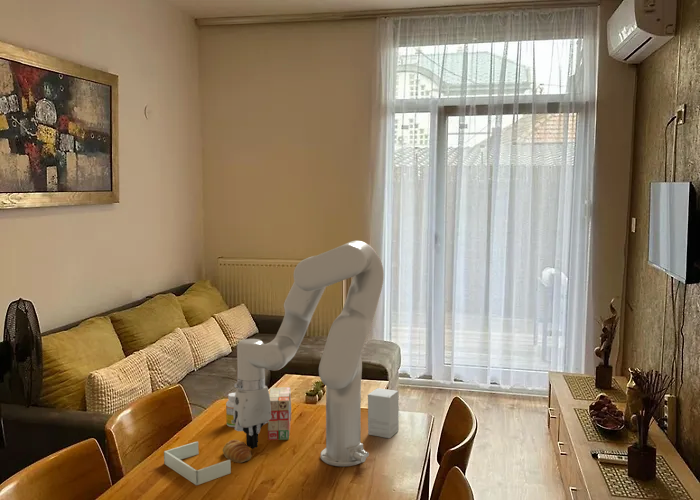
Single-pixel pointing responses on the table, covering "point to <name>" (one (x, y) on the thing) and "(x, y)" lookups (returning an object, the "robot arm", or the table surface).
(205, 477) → the frame
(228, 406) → the supplement bottle
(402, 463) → the table surface
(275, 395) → the stack of blocks
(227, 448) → the pastry
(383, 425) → the supplement box
